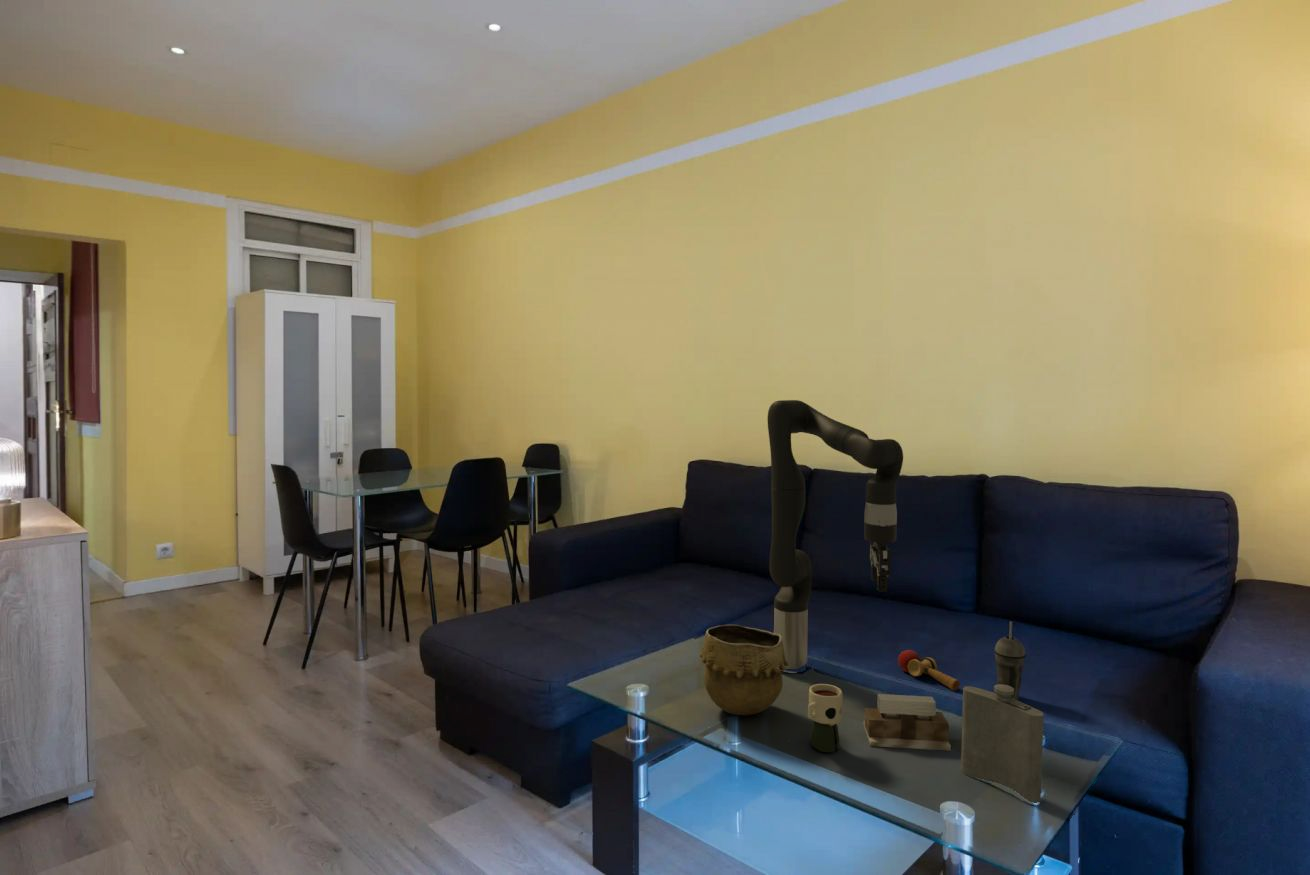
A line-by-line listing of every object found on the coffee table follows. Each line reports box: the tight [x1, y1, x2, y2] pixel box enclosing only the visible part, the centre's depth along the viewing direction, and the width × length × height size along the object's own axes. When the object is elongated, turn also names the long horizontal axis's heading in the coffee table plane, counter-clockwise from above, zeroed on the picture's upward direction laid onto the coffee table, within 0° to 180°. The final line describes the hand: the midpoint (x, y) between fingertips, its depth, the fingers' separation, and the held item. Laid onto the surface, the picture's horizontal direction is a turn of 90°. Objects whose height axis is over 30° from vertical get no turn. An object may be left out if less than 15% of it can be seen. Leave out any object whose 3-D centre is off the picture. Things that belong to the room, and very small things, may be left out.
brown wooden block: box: [862, 707, 952, 752], centre depth 163 cm, size 17×10×5 cm, turn 83°
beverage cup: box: [993, 620, 1027, 701], centre depth 184 cm, size 7×7×20 cm
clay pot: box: [699, 624, 789, 716], centre depth 176 cm, size 21×21×20 cm
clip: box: [876, 693, 937, 721], centre depth 163 cm, size 12×3×8 cm, turn 82°
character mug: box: [807, 683, 844, 753], centre depth 159 cm, size 11×7×13 cm, turn 127°
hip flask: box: [960, 683, 1045, 803], centre depth 143 cm, size 16×4×20 cm, turn 35°
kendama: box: [897, 649, 960, 691], centre depth 196 cm, size 8×6×18 cm
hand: (879, 586), depth 178 cm, fingers open, 8 cm apart
